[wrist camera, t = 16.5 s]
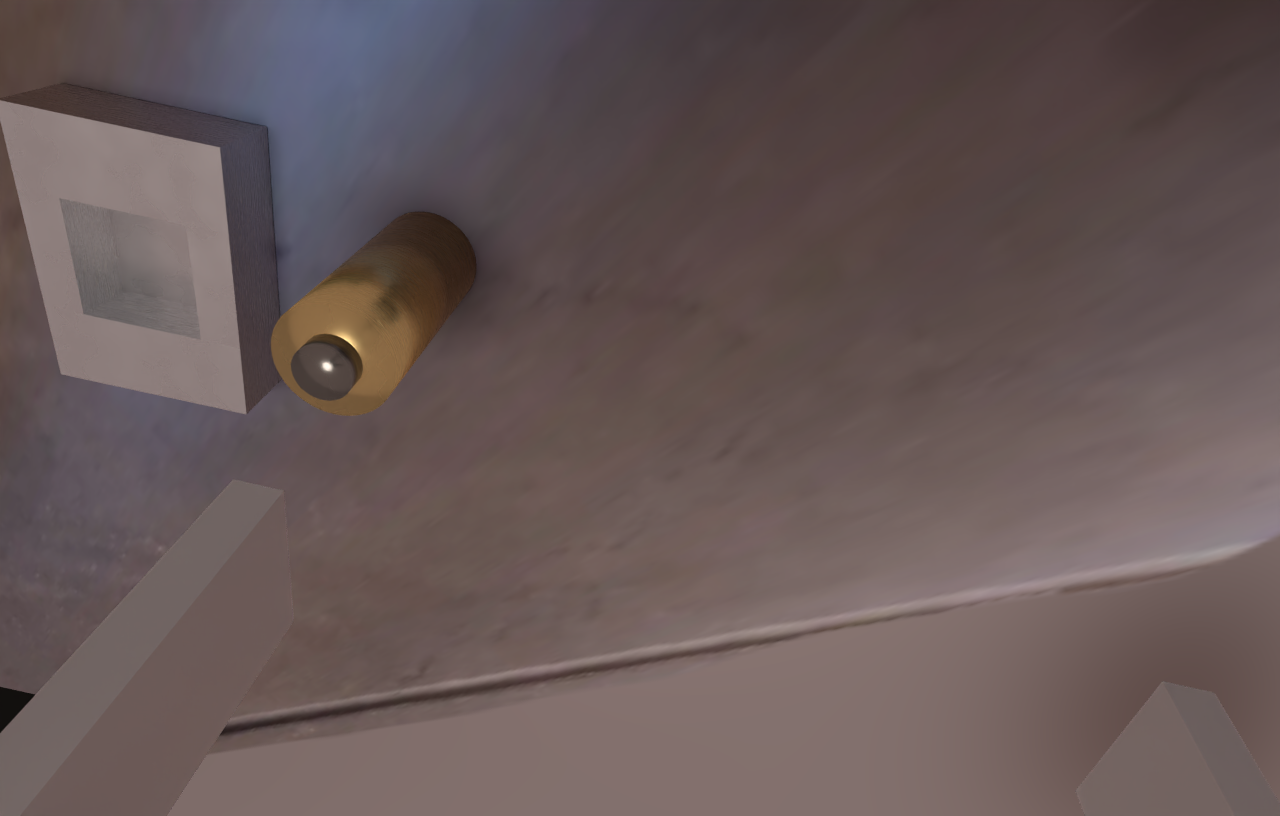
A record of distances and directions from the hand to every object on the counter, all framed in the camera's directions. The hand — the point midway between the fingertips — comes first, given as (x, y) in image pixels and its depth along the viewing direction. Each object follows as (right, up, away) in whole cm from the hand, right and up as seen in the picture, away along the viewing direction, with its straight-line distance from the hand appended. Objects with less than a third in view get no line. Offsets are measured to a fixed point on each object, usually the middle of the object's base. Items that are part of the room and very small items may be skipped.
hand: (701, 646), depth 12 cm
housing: (-25, +12, +30) cm, 41 cm away
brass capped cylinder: (-12, +11, +29) cm, 33 cm away
